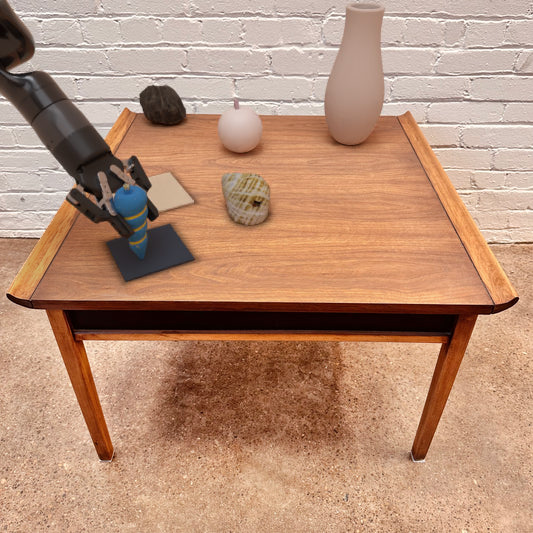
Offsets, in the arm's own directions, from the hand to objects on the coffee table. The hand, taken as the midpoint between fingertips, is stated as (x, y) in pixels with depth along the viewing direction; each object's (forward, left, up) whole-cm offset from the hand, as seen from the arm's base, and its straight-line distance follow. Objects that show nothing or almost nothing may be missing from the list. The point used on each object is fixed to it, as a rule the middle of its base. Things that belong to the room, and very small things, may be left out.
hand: (143, 227), depth 76 cm
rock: (+23, +57, -8) cm, 62 cm away
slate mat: (+1, +4, -8) cm, 8 cm away
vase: (+59, +24, -8) cm, 64 cm away
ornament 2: (+33, +32, -8) cm, 46 cm away
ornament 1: (-1, +2, -7) cm, 8 cm away
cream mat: (+7, +22, -8) cm, 24 cm away
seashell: (+22, +8, -8) cm, 25 cm away
